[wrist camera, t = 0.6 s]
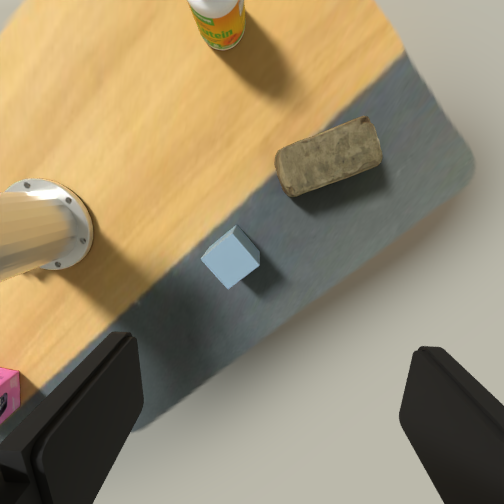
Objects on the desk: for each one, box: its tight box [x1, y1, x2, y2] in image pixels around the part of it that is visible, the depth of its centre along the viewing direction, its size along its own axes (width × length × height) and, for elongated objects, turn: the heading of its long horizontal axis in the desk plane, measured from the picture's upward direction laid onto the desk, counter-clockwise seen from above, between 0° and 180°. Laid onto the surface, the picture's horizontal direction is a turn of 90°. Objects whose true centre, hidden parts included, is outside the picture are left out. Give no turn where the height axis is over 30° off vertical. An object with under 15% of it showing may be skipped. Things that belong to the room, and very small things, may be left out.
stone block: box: [275, 116, 382, 197], centre depth 30 cm, size 6×12×5 cm, turn 112°
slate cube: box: [201, 225, 260, 289], centre depth 33 cm, size 5×5×6 cm
